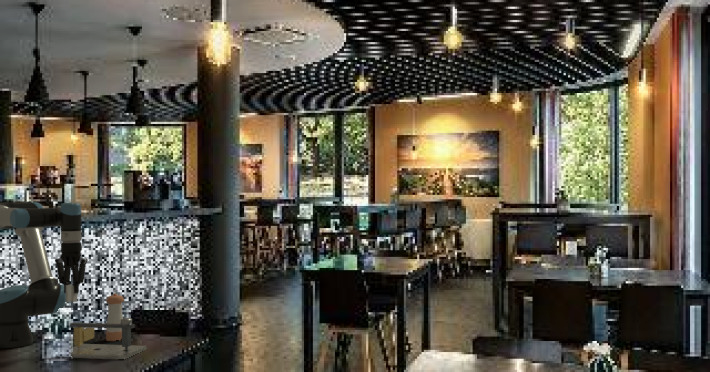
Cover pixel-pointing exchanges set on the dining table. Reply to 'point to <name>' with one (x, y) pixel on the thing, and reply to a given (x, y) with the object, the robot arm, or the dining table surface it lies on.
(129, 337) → the divider beam
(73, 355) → the bolt plate
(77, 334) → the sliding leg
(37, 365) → the dining table surface
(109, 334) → the salt shaker
